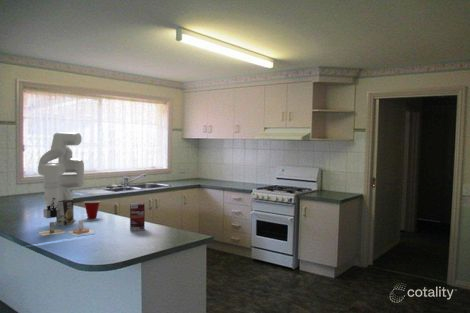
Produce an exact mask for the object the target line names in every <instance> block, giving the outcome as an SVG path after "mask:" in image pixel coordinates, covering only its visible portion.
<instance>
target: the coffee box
mask: <svg viewBox="0 0 470 313" xmlns="http://www.w3.org/2000/svg"><path fill="white" fill-rule="evenodd" d="M57 208H58V209H60V217H55V218H56V219H55V220H56V222H55V224H56V226H67V225H71V224H74V223H75V221H74V218H75V216H74V213H75V212H74V199H73V200H62V201H58V204H57Z"/></svg>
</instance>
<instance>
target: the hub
mask: <svg viewBox="0 0 470 313" xmlns="http://www.w3.org/2000/svg"><path fill="white" fill-rule="evenodd" d="M66 233H69V234H70V235H73V236H77V238H78V237H80V235H83V237H84V236H86V237H87V235H84V234H89V236H90V235H93V233H96V231H95V230H93V229H91V228H88V227H86V228H84V219H79V220H78V228H76V229H73V230H68V231H66ZM91 233H92V234H91Z"/></svg>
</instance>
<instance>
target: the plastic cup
mask: <svg viewBox="0 0 470 313" xmlns="http://www.w3.org/2000/svg"><path fill="white" fill-rule="evenodd" d="M83 203H84V207H85V212H86V216H87V219H88V218H89V219H90V220H92V219H93V220H94V219H97V218H98V212H99V207H100V203H101V201H100V200H87V201H83ZM89 219H88V220H89Z"/></svg>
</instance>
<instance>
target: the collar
mask: <svg viewBox="0 0 470 313" xmlns="http://www.w3.org/2000/svg"><path fill="white" fill-rule="evenodd" d="M42 212H43V218H45V219H52V218H53V219H54V218H56V217H52V218H51V208H48V209H47V208H43V210H42ZM57 217H60V209H58V208H57Z"/></svg>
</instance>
